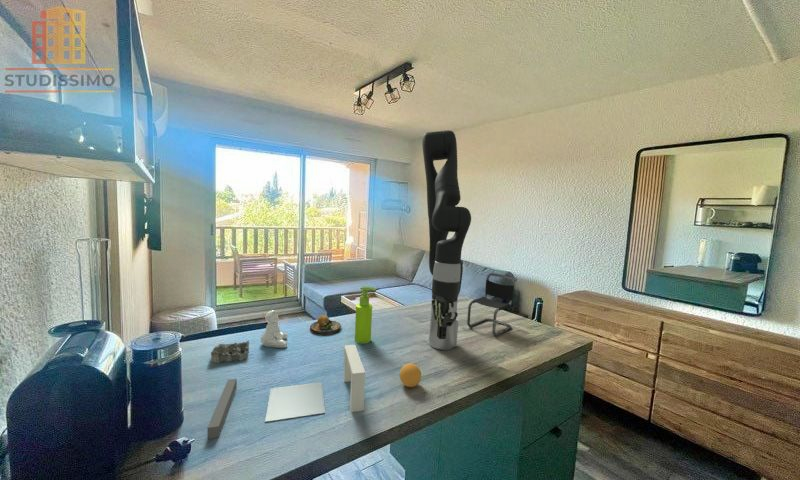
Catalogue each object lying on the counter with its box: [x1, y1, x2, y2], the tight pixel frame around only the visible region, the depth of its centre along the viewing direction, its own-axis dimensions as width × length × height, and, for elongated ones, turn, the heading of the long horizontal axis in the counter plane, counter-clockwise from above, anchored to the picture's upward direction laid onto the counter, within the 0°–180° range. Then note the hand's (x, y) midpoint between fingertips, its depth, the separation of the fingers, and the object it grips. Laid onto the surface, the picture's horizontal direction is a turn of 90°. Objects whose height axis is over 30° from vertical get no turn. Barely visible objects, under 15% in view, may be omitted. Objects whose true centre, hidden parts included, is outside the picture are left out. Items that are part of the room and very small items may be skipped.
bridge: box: [342, 344, 366, 413], centre depth 80 cm, size 3×15×10 cm, turn 18°
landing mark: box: [264, 381, 326, 423], centre depth 76 cm, size 13×13×1 cm
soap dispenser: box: [354, 286, 377, 345], centre depth 111 cm, size 6×7×20 cm
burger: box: [309, 314, 342, 336], centre depth 120 cm, size 12×12×8 cm
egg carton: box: [210, 340, 250, 364], centre depth 96 cm, size 10×7×4 cm
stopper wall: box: [207, 378, 238, 440], centre depth 71 cm, size 2×18×2 cm, turn 18°
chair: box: [466, 272, 518, 337], centre depth 130 cm, size 13×17×22 cm
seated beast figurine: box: [260, 309, 288, 349], centre depth 105 cm, size 10×9×12 cm
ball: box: [399, 362, 422, 388], centre depth 85 cm, size 6×6×6 cm
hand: (441, 337), depth 87 cm, fingers closed
